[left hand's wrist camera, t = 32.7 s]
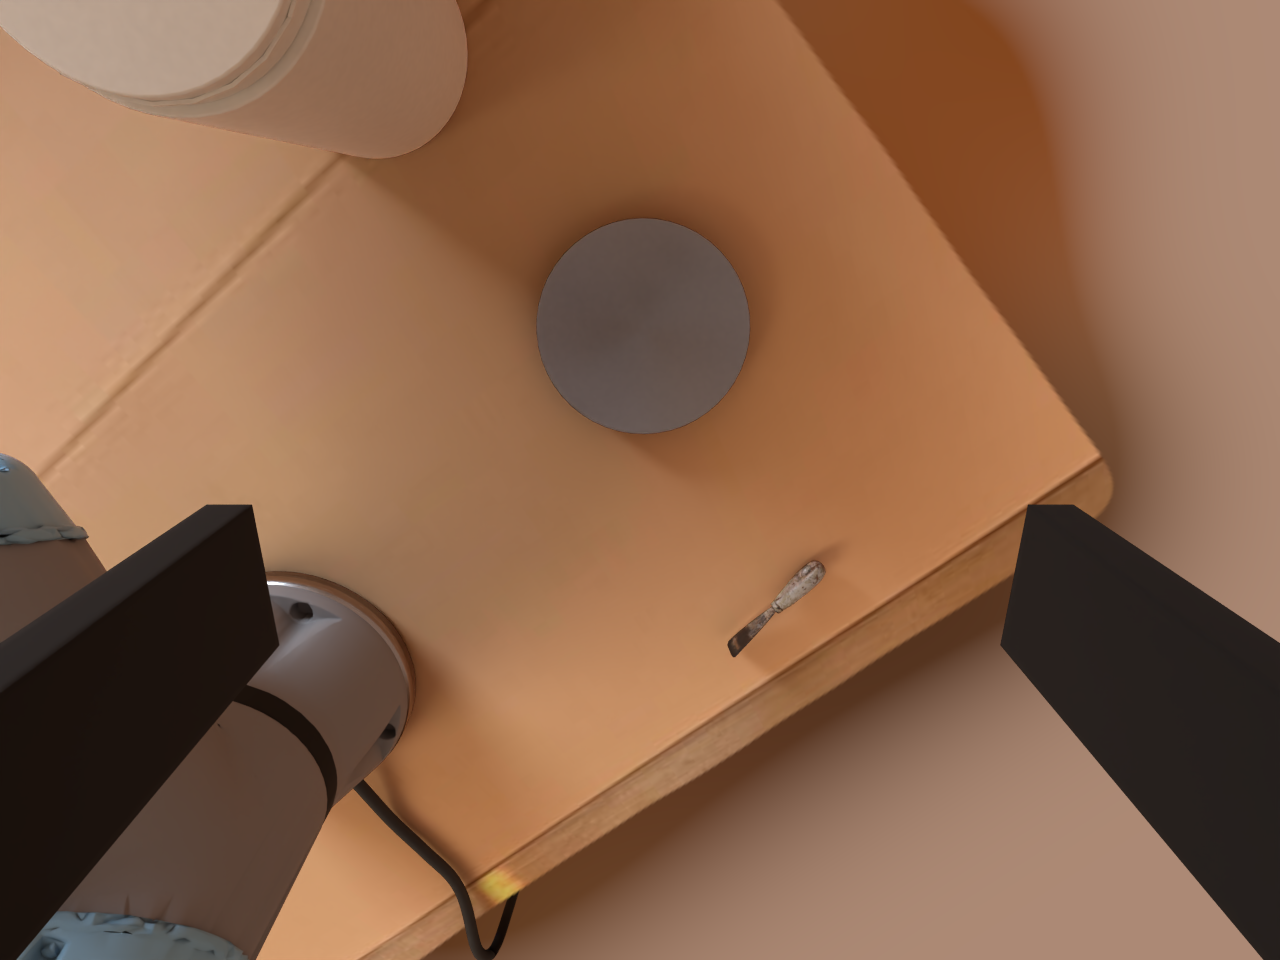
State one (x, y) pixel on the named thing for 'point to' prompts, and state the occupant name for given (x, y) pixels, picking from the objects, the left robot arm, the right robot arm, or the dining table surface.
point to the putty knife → (780, 603)
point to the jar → (264, 64)
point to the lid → (643, 326)
